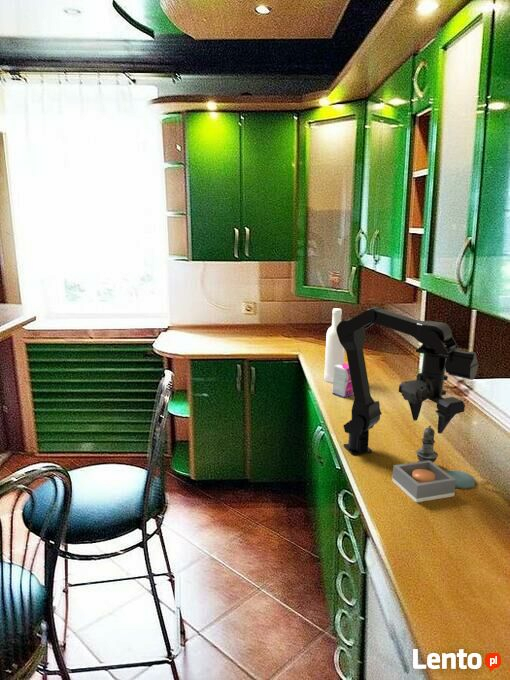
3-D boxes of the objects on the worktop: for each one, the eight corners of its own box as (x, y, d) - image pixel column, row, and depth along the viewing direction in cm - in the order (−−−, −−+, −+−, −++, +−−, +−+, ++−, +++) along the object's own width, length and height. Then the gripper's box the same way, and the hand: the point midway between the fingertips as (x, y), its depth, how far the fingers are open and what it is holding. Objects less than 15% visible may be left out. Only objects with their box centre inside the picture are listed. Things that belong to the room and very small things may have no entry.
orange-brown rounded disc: (407, 474, 139) (408, 470, 139) (426, 471, 141) (426, 467, 141) (420, 485, 134) (420, 480, 134) (439, 482, 136) (439, 478, 135)
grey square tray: (392, 480, 142) (393, 465, 141) (428, 475, 145) (429, 460, 144) (415, 502, 132) (417, 485, 130) (454, 496, 135) (456, 479, 134)
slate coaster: (434, 475, 145) (435, 472, 145) (461, 471, 148) (461, 468, 147) (454, 490, 137) (454, 487, 137) (481, 486, 140) (482, 483, 140)
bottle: (322, 381, 221) (325, 310, 214) (326, 376, 228) (329, 306, 221) (341, 384, 218) (345, 311, 211) (344, 378, 226) (348, 308, 218)
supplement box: (343, 398, 202) (345, 369, 200) (332, 394, 207) (333, 365, 204) (353, 395, 206) (355, 366, 203) (342, 390, 210) (343, 362, 208)
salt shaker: (432, 460, 154) (436, 421, 151) (440, 470, 148) (444, 429, 145) (412, 460, 154) (415, 421, 151) (419, 470, 148) (422, 429, 145)
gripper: (385, 364, 145) (380, 418, 149) (435, 386, 129) (429, 446, 133) (417, 360, 150) (412, 412, 154) (469, 380, 133) (462, 438, 137)
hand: (427, 426), depth 144 cm, fingers open, 9 cm apart
